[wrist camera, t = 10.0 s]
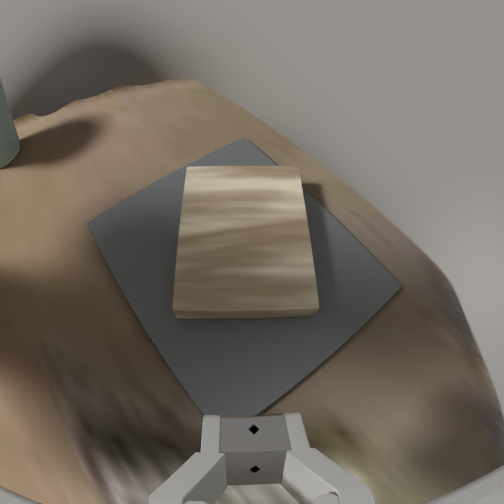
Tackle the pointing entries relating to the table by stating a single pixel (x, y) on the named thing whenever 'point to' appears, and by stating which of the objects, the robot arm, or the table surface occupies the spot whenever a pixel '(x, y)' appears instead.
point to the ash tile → (244, 245)
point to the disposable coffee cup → (7, 132)
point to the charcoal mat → (236, 329)
